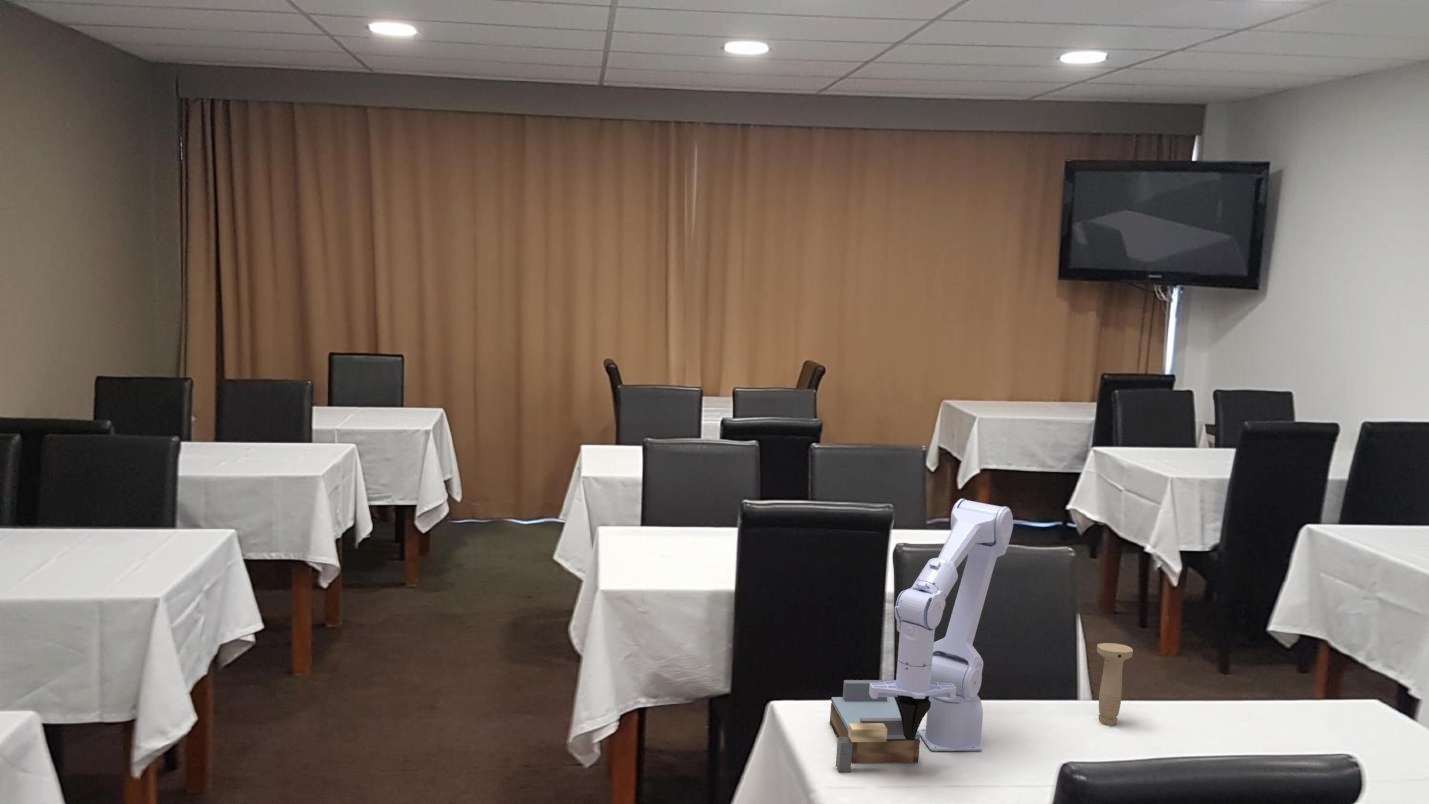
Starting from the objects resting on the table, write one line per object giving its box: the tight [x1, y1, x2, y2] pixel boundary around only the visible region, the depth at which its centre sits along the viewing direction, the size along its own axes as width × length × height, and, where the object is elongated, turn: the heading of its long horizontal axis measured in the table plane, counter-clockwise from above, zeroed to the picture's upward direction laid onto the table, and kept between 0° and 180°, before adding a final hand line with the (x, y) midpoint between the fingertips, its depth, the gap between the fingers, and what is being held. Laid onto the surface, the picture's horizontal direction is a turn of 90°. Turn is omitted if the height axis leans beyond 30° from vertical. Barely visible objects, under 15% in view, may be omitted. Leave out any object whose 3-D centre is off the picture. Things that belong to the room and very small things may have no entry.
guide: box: [835, 737, 853, 774], centre depth 182 cm, size 2×2×5 cm
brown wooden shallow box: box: [829, 702, 921, 764], centre depth 193 cm, size 12×16×4 cm
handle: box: [1096, 642, 1134, 727], centre depth 206 cm, size 5×6×15 cm
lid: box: [830, 679, 921, 740], centre depth 193 cm, size 12×16×4 cm
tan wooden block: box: [848, 723, 887, 742], centre depth 182 cm, size 6×2×2 cm, turn 97°
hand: (909, 737), depth 183 cm, fingers closed
